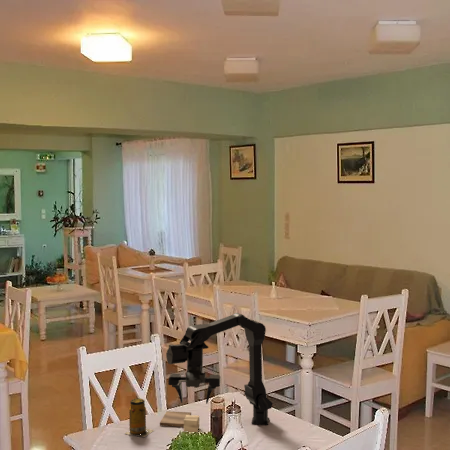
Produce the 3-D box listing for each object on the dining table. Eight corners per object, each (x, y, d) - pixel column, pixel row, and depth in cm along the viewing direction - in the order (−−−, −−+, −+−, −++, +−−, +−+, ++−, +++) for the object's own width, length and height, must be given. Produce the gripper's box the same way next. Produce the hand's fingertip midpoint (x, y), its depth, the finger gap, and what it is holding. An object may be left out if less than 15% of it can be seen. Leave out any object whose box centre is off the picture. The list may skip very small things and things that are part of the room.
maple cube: (186, 428, 231) (186, 415, 230) (199, 428, 230) (199, 415, 230) (183, 433, 226) (183, 420, 225) (197, 433, 225) (197, 420, 225)
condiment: (134, 427, 231) (134, 396, 231) (154, 430, 228) (154, 399, 227) (124, 434, 225) (124, 402, 224) (144, 437, 221) (144, 405, 221)
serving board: (166, 414, 244) (166, 411, 244) (191, 415, 243) (191, 412, 243) (159, 425, 232) (159, 422, 232) (185, 427, 231) (185, 423, 231)
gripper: (166, 366, 214) (165, 409, 215) (219, 368, 213) (218, 411, 214) (170, 357, 225) (170, 399, 226) (220, 359, 224) (220, 401, 225)
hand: (194, 403), depth 222 cm, fingers open, 9 cm apart
